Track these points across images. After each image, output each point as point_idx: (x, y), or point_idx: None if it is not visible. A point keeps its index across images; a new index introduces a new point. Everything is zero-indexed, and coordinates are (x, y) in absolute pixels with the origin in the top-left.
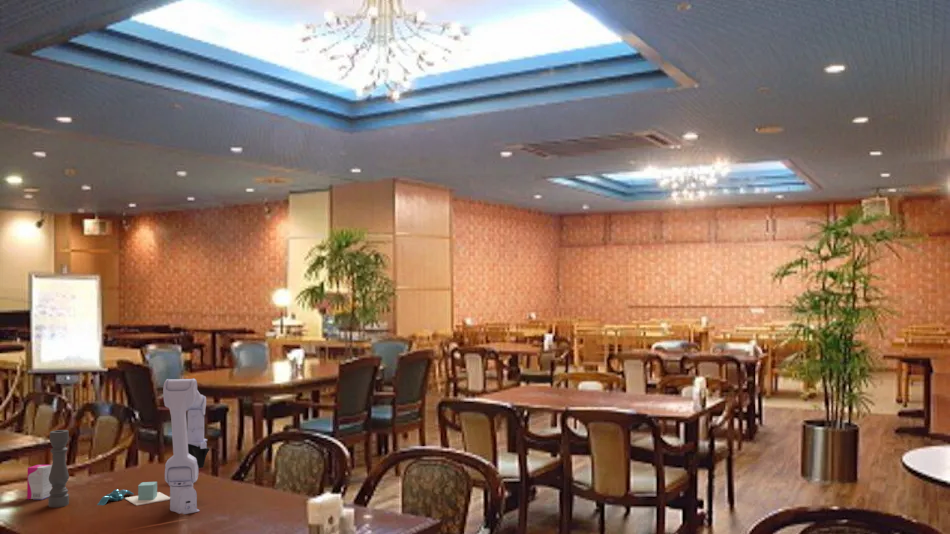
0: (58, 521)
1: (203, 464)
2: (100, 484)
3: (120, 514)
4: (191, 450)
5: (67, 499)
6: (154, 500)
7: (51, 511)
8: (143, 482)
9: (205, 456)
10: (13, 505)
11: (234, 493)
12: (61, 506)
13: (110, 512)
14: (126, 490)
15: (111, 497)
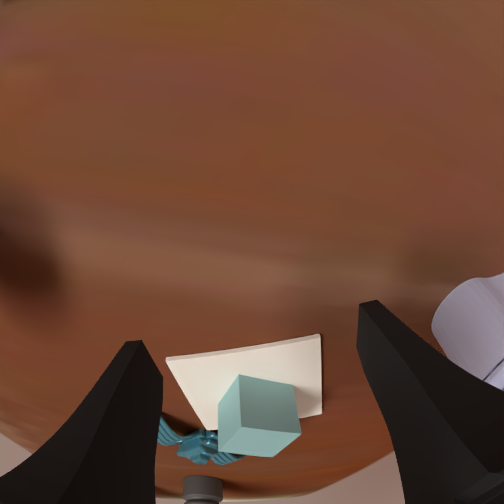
0: (333, 473)
1: (395, 318)
2: (17, 416)
3: (378, 423)
4: (128, 497)
5: (212, 488)
6: (308, 382)
7: (246, 484)
8: (225, 449)
9: (466, 375)
10: (166, 497)
11: (405, 39)
12: (221, 481)
13: (341, 438)
14: (177, 440)
15: (233, 455)
